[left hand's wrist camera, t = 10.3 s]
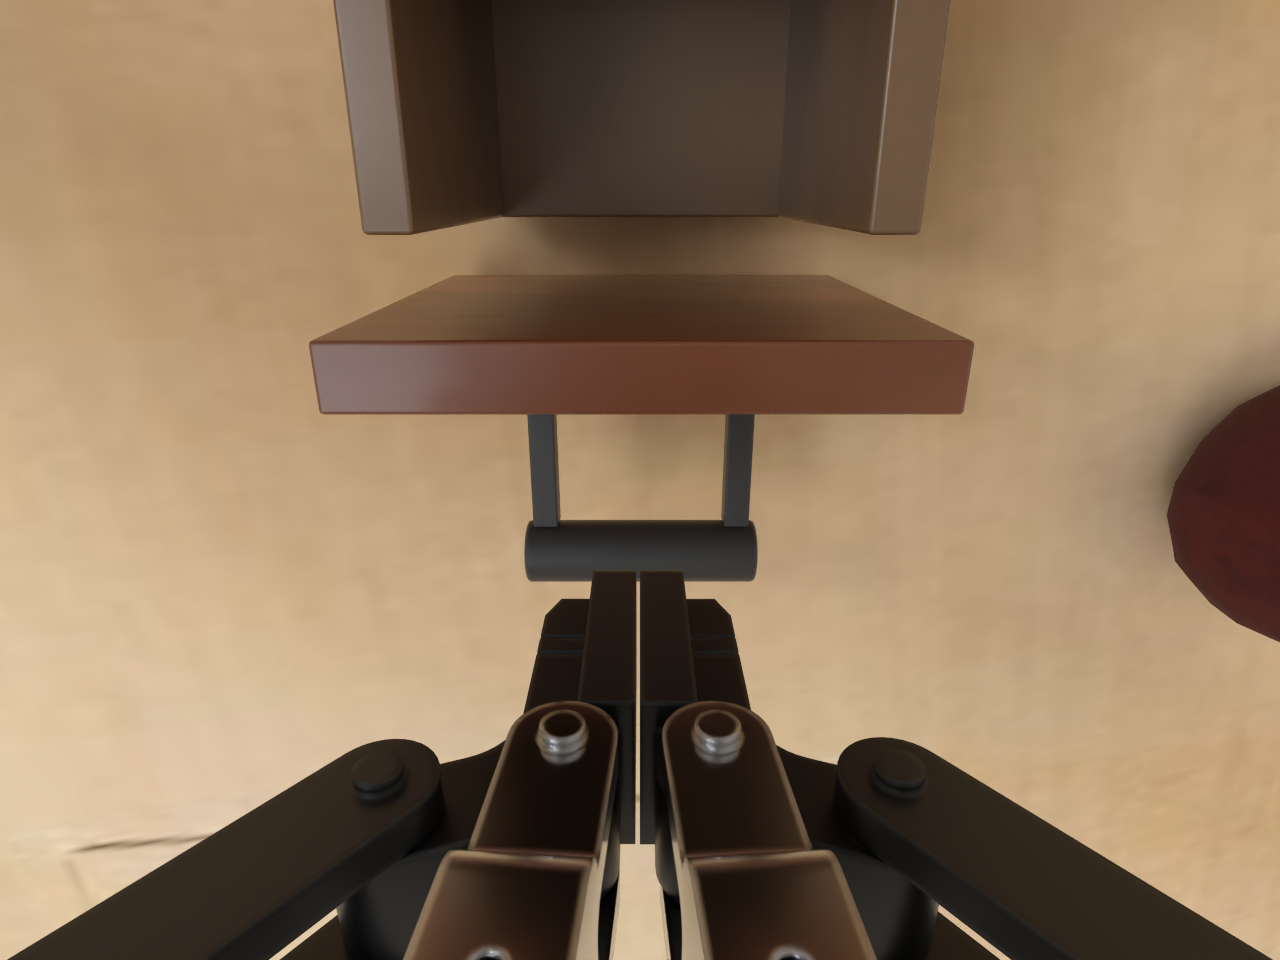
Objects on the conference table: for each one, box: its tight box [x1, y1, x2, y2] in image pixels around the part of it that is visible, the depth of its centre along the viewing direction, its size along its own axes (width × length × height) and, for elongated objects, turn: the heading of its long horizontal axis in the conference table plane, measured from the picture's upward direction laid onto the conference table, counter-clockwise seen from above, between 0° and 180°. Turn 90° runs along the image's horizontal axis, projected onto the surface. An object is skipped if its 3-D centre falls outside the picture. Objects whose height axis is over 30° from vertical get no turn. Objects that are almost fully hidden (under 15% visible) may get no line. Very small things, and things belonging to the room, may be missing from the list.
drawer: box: [309, 0, 974, 581], centre depth 15 cm, size 21×10×10 cm, turn 0°
